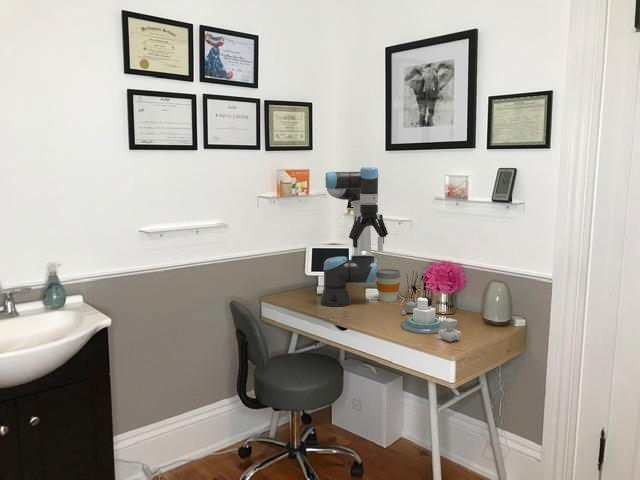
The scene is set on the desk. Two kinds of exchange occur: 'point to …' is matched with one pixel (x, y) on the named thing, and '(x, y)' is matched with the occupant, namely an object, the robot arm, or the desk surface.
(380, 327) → the desk surface
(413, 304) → the reed diffuser
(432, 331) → the ring dish
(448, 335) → the stamp
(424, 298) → the medicine bottle
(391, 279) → the reusable coffee cup
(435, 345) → the desk surface
